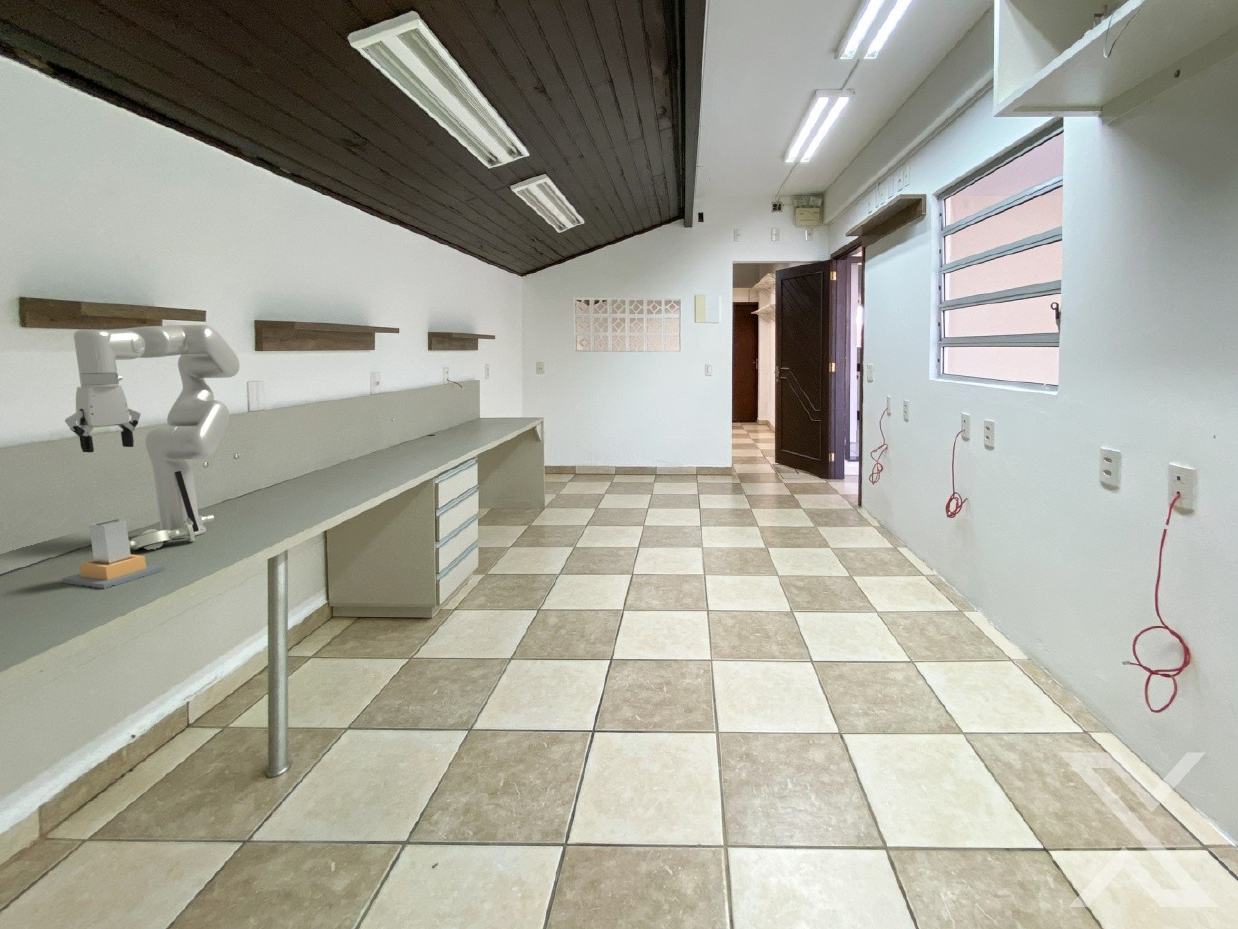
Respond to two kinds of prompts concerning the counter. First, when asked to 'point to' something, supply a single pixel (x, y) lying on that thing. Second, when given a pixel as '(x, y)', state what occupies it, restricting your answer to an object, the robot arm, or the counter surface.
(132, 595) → the counter surface
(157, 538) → the butterfly valve
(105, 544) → the block
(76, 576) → the collar plate
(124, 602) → the counter surface
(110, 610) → the counter surface
